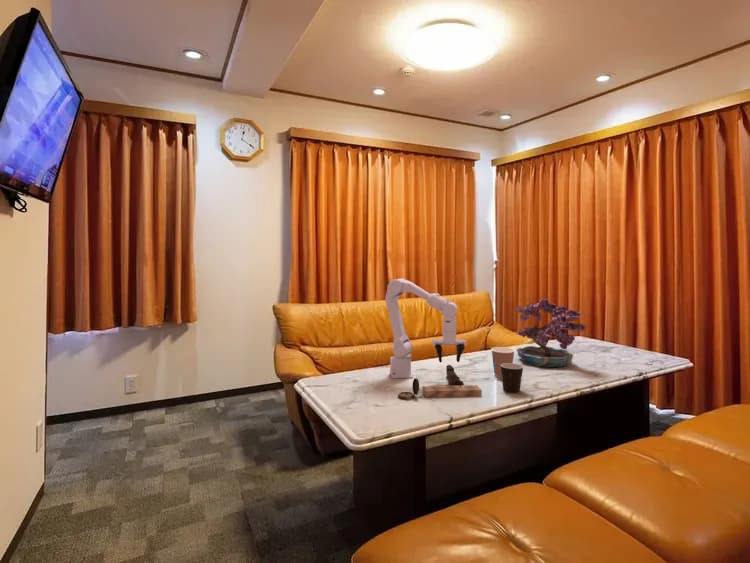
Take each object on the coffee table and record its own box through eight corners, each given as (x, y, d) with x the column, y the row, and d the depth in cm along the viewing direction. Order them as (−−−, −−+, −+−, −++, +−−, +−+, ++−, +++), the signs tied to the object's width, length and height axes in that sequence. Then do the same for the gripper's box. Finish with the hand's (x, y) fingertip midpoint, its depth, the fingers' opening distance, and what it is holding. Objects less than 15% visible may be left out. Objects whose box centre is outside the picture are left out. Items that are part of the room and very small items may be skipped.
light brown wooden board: (425, 397, 158) (425, 390, 158) (422, 392, 164) (422, 385, 164) (481, 396, 159) (481, 389, 159) (476, 391, 165) (476, 384, 165)
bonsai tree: (504, 357, 219) (505, 296, 217) (547, 353, 226) (548, 295, 224) (548, 376, 185) (550, 304, 183) (597, 371, 193) (599, 302, 190)
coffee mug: (507, 385, 172) (507, 362, 171) (526, 390, 166) (527, 366, 165) (491, 391, 164) (492, 367, 164) (511, 397, 158) (511, 371, 157)
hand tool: (463, 392, 165) (463, 378, 164) (451, 391, 165) (451, 378, 165) (455, 375, 187) (455, 363, 187) (444, 375, 188) (445, 363, 187)
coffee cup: (491, 371, 193) (491, 346, 192) (514, 373, 189) (515, 347, 188) (489, 377, 183) (490, 351, 182) (514, 380, 180) (514, 352, 179)
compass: (396, 395, 161) (396, 376, 161) (415, 393, 162) (415, 375, 162) (401, 402, 153) (401, 383, 153) (421, 401, 155) (421, 382, 154)
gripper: (434, 332, 172) (434, 364, 173) (468, 332, 173) (468, 363, 174) (431, 329, 179) (431, 360, 180) (464, 329, 180) (463, 359, 181)
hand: (449, 361), depth 178 cm, fingers open, 7 cm apart
